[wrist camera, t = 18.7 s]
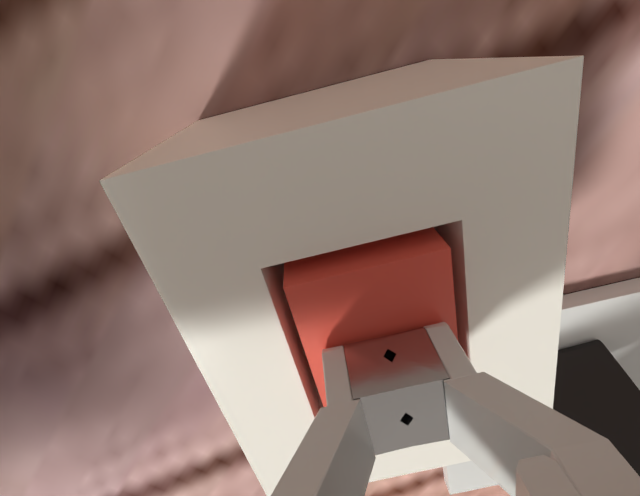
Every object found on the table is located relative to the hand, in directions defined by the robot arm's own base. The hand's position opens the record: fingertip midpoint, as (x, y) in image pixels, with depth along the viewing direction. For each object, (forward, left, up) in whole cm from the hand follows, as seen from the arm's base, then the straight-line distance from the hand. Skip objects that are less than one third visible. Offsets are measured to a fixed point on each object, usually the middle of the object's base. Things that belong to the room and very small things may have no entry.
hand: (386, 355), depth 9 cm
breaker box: (0, 0, -8) cm, 8 cm away
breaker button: (0, 0, -3) cm, 3 cm away
